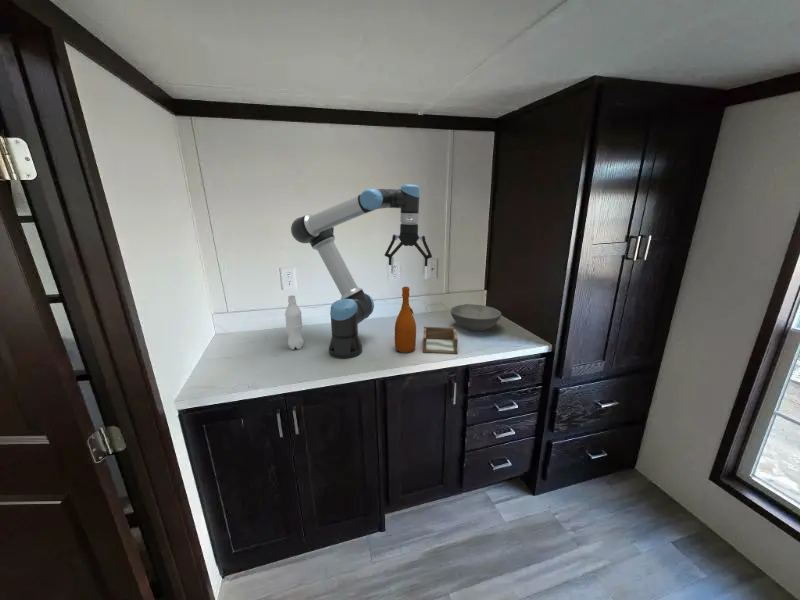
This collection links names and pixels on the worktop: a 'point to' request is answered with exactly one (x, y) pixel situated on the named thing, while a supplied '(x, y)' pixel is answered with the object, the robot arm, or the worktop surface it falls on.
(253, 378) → the worktop surface
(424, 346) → the walnut U-rest
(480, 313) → the bowl
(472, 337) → the worktop surface
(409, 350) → the wine bottle
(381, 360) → the worktop surface
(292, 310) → the water bottle
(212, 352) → the worktop surface
